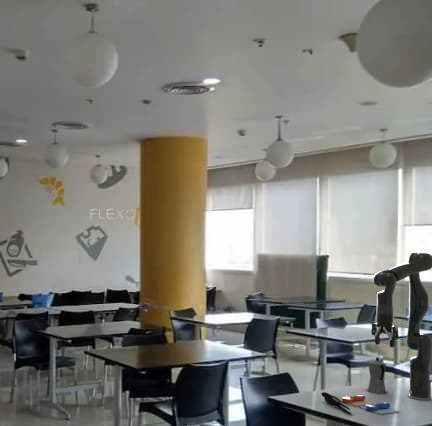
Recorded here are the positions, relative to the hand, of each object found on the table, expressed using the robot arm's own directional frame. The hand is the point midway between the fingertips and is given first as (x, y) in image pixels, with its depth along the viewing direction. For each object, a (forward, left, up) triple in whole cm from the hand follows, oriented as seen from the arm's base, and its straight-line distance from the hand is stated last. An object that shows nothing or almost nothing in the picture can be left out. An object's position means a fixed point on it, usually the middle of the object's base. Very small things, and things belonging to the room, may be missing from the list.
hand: (384, 345), depth 305 cm
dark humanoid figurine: (+27, 0, -29) cm, 39 cm away
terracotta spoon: (+12, -7, -28) cm, 31 cm away
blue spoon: (+12, +8, -28) cm, 32 cm away
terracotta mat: (+12, -7, -29) cm, 32 cm away
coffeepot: (-18, -20, -29) cm, 39 cm away
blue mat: (+12, +8, -29) cm, 32 cm away
